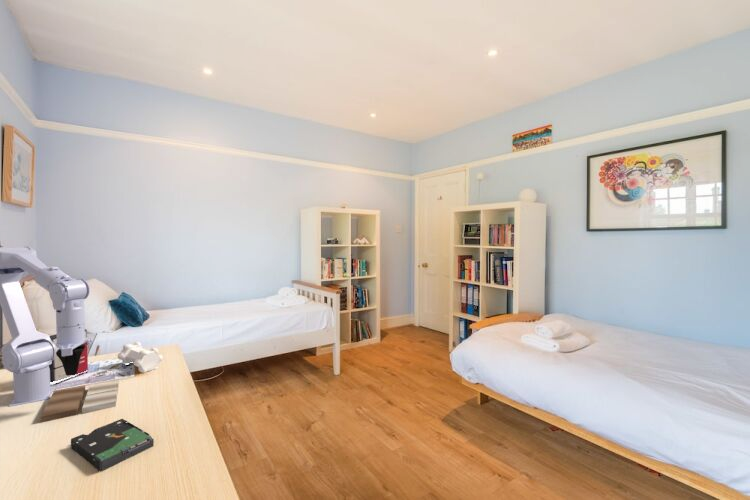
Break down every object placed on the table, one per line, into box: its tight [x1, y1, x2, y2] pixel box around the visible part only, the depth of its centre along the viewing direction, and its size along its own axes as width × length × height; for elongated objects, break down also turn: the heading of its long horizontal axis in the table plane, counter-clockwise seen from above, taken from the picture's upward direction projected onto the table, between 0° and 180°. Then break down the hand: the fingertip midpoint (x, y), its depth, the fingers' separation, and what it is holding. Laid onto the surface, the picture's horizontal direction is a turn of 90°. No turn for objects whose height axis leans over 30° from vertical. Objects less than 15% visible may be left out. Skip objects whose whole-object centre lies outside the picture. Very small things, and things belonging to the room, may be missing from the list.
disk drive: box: [70, 418, 155, 473], centre depth 77 cm, size 10×3×15 cm
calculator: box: [49, 328, 89, 382], centre depth 112 cm, size 11×4×15 cm, turn 168°
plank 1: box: [86, 379, 120, 396], centre depth 103 cm, size 8×7×2 cm
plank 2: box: [81, 390, 118, 414], centre depth 96 cm, size 8×7×2 cm
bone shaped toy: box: [117, 341, 164, 374], centre depth 122 cm, size 15×9×8 cm, turn 58°
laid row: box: [39, 385, 86, 424], centre depth 95 cm, size 17×7×2 cm, turn 34°
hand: (71, 374), depth 94 cm, fingers closed
